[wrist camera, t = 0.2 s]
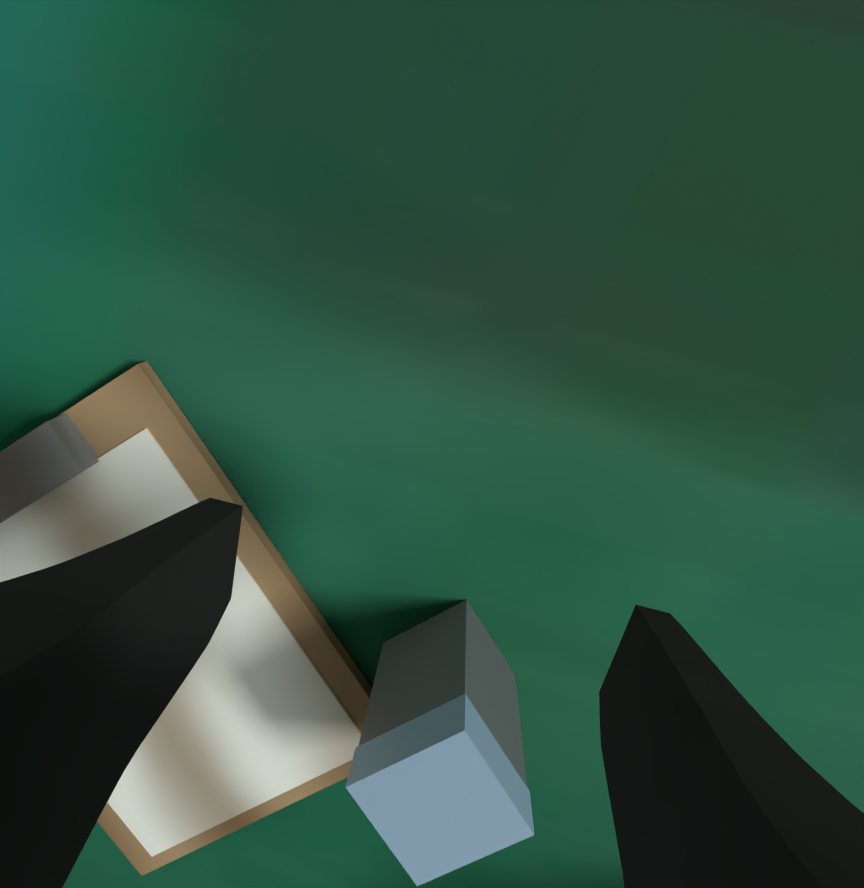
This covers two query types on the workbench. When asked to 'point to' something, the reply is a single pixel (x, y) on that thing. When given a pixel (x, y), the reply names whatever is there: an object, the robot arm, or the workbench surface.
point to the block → (443, 748)
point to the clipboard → (232, 645)
